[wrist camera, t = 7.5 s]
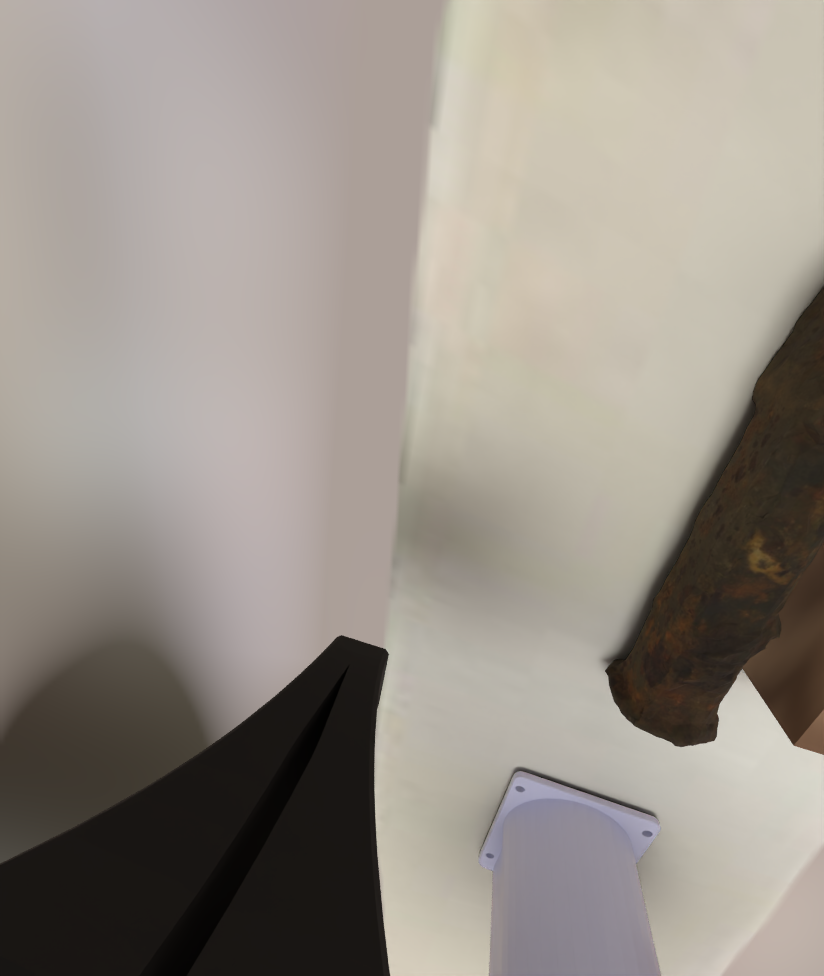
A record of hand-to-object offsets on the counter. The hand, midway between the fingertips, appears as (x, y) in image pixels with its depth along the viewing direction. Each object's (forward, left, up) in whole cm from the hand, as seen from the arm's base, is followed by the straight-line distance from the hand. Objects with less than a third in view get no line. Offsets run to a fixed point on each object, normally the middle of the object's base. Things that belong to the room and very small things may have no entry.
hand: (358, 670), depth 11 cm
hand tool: (+4, -11, -10) cm, 15 cm away
